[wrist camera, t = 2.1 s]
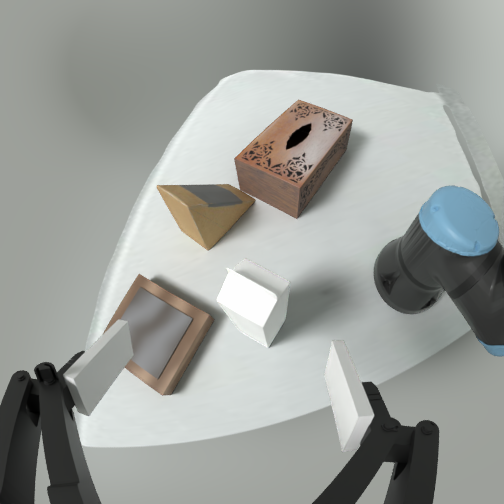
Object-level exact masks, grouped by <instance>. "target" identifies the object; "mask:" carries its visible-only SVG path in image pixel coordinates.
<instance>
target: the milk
mask: <svg viewBox="0 0 504 504" xmlns="http://www.w3.org/2000/svg"><path fill="white" fill-rule="evenodd" d="M227 271H228V275H227V278H226V280H225V282H224V284H223V287H222V289H221V291H220V293H219V296H218V298H217V301H218V303H219V304H220V306H221V307H222V308H223V310H224V311H225V313H226V314H227V315H228V317H229V318H230V320H231V321H232V322H233V324H234V325H235V326H236V328H237V329H238V330H239V331H240V332H241V333H243V334H245V335H246V336H248V337H250V338H251V339H253V340H255V341H257V342H258V343H260V344H262V345H263V346H265V347H267V348H269V346H270V345H271V343H272V341H273V340H274V338H275V336H276V335H277V333H278V331H279V330H280V328H281V326H282V325H283V323H284V321H285V320H286V313H287V306H288V298H289V290H290V281H288V280H286V279H284V278H282V277H280V276H278V275H277V274H275V273H273V272H271V271H269V270H267V269H265V268H263V267H261V266H260V265H258V264H256V263H254V262H252V261H250V260H248V259H246V258H245V259H243V260H242V261H241V262H240V263H239V264H238V265H237V266H236V267H235V268H233V269H232V270H231V269H229V268H227Z"/></svg>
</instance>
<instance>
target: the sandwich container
mask: <svg viewBox="0 0 504 504" xmlns="http://www.w3.org/2000/svg"><path fill="white" fill-rule="evenodd" d="M157 189H158V191H159V193H160V194H161V196H162V198H163V200H164V201H165V203H166V205H167V207H168V208H169V210H170V212H171V214H172V215H173V217H174V219H175V221H176V222H177V224H178V226H179V227H180V229H181V231H183V232H184V233H185V234H186V235H188V236H189V237H190V238H192V239H193V240H194V241H196V242H197V243H198V244H200V245H201V246H202V247H204V248H205V249H207V250H210V249H211V248H212V247H213V246H214V245H215V244H216V243H217V242H218V241H219V240H220V238H221V237H222V236H223V235H224V234H225V233H226V232H227V231H228V230H229V229H230V228H231V227H232V226H233V225H234V224H235V223H236V222H237V220H238V219H239V218H240V217H241V216H242V215H243V214H244V213H245V212H246V210H247V209H248V208H249V207H250V206H251V205H252V204H253V203H254V202H255V201H256V200H255V199H254V198H252V197H250V196H249V195H247V194H246V193H244V192H242V191H241V190H239V189H237V188H235V187H233V186H231V185H229V184H218V185H157Z"/></svg>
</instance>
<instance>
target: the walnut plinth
mask: <svg viewBox="0 0 504 504" xmlns="http://www.w3.org/2000/svg"><path fill="white" fill-rule="evenodd" d="M118 319H119V320H124V321H128V325H129V332H130V338H131V344H132V349H133V356H132V358H131V359H130V360H129V362H128V363H127V364H126V366H125V368H126V369H127V370H129V371H130V372H131V373H132V374H134V375H135V376H136V377H138V378H139V379H140V380H142V381H143V382H144V383H146V384H147V385H148V386H150V387H151V388H153V389H154V390H155V391H157V392H158V393H160V394H161V395H171V394H172V392H173V391H174V389H175V387H176V386H177V384H178V382H179V380H180V379H181V377H182V375H183V373H184V372H185V370H186V368H187V366H188V365H189V363H190V361H191V360H192V358H193V356H194V354H195V353H196V351H197V349H198V347H199V346H200V344H201V342H202V340H203V339H204V337H205V335H206V333H207V332H208V330H209V328H210V326H211V325H212V323H213V321H214V319H213V318H212V317H211V316H210V315H209V314H207V313H206V312H204V311H202V310H200V309H198V308H197V307H195V306H193V305H191V304H189V303H188V302H186V301H184V300H182V299H181V298H179V297H177V296H175V295H174V294H172V293H170V292H169V291H167V290H165V289H163V288H162V287H160V286H158V285H157V284H155V283H153V282H152V281H150V280H148V279H147V278H145V277H144V276H142V275H140V274H139V275H138V276H137V278H136V279H135V281H134V282H133V284H132V286H131V287H130V289H129V290H128V292H127V294H126V295H125V297H124V299H123V300H122V302H121V304H120V305H119V307H118V309H117V310H116V312H115V314H114V315H113V317H112V319H111V320H110V322H109V324H108V326H107V327H106V329H105V331H104V333H105V332H106V331H107V330H108V329H109V328H110V327H111V326H112V325H113V324H114V323H115V322H116V321H117V320H118ZM104 333H103V334H104ZM103 334H102V335H103Z"/></svg>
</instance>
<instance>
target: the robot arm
mask: <svg viewBox="0 0 504 504" xmlns="http://www.w3.org/2000/svg"><path fill="white" fill-rule="evenodd" d="M494 218H495V215H494V213H493V211H492V210H491V208H490V207H489V205H488V204H487V203H486V202H485V201H484V200H483V199H482V198H481V197H480V196H478V195H477V194H475V193H474V192H472V191H470V190H468V189H466V188H463V187H457V186H445V187H442V188H440V189H438V190H436V191H435V192H434V193H433V194H432V196H431V197H430V198H429V200H428V201H427V202H425V203H424V204H423V206H422V207H421V210H420V212H419V214H418V215H417V217H416V218H415V220H414V221H413V223H412V224H411V226H410V227H409V229H408V230H407V231H406V233H405V234H404V236H402V237H400V238H398V239H395V240H393V241H391V242H390V243H388V244H387V245H386V246H385V247H384V248H383V249H382V251H381V252H380V254H379V255H378V257H377V259H376V262H375V266H374V280H375V284H376V287H377V290H378V292H379V294H380V295H381V297H382V298H383V300H384V301H385V302H386V303H387V304H388V305H389V306H390V307H392V308H393V309H395V310H397V311H399V312H401V313H405V314H416V313H420V312H422V311H424V310H426V309H428V308H429V307H431V306H432V305H433V304H434V303H435V302H436V301H437V299H438V298H439V296H440V294H441V292H442V290H443V288H444V290H445V291H446V292H447V294H448V295H449V296H450V298H451V299H452V300H453V302H454V303H455V305H456V306H457V308H458V309H459V310H460V312H461V313H462V315H463V316H464V318H465V319H466V321H467V322H468V324H469V325H470V327H471V329H472V330H473V332H474V333H475V335H476V337H477V339H478V341H479V342H480V343H481V344H483V346H484V347H485V349H486V350H487V351H488V352H489V353H490V354H492V355H494V356H504V248H503V247H502V245H501V244H500V243H499V242H498V236H499V227H498V222H497V221H496V220H495V219H494ZM132 356H133V349H132V344H131V338H130V332H129V325H128V321H124V320H119V319H118V320H117V321H116V322H115V323H114V324H113V325H112V326H111V327H110V328H109V329H108V330H107V331H106V332H105V333H104V334H103V335H102V336H101V337H100V338H99V339H98V340H97V341H96V342H95V343H94V344H93V345H92V346H91V347H90V348H89V349H88V350H87V351H86V352H85V351H81V352H79V353H77V354H75V356H73V357H72V358H71V360H69V361H68V363H66V364H65V365H64V366H63V367H62V368H61V369H60V370H59V371H58V372H56V369H55V367H54V365H53V364H52V363H49V362H44V363H40V364H39V365H37V366H36V367H35V369H34V371H35V374H36V377H37V379H31V377H30V375H29V373H28V372H27V371H24V370H23V371H17V372H16V373H14V374H13V376H12V377H11V380H10V382H9V385H8V387H7V390H6V392H5V395H4V397H3V400H2V403H1V405H0V504H34V494H35V476H36V465H37V456H38V449H39V442H40V435H41V430H42V438H43V445H44V452H45V459H46V464H47V469H48V474H49V479H50V484H51V485H50V486H48V487H47V490H48V496H49V499H50V503H51V504H101V502H100V499H99V497H98V494H97V492H96V489H95V487H94V484H93V481H92V479H91V476H90V472H89V469H88V466H87V463H86V460H85V457H84V453H83V450H82V446H81V442H80V438H79V434H78V430H77V426H76V422H75V417H74V412H73V411H72V408H73V407H74V405H75V406H76V408H77V410H78V412H79V413H82V414H84V415H87V416H89V415H90V414H91V413H92V411H93V410H94V408H95V407H96V406H97V404H98V403H99V401H100V400H101V399H102V397H103V396H104V394H105V393H106V392H107V390H108V389H109V388H110V386H111V385H112V383H113V382H114V381H115V379H116V378H117V377H118V375H119V374H120V373H121V371H122V370H123V369H124V367H125V366H126V364H127V363H128V362H129V360H130V359H131V358H132ZM324 376H325V380H326V384H327V388H328V392H329V396H330V401H331V405H332V409H333V413H334V417H335V422H336V426H337V430H338V435H339V439H340V444H341V448H342V451H343V452H344V451H354V450H357V449H358V447H359V445H361V446H360V447H359V449H358V450H357V451H356V453H355V454H354V455H353V457H352V458H351V459H350V461H349V462H348V463H347V464H346V466H345V467H344V468H343V469H342V471H341V472H340V473H339V474H338V475H337V477H336V478H335V479H334V480H333V481H332V483H331V484H330V485H329V486H328V487H327V488H326V489H325V490H324V491H323V493H322V494H321V495H320V496H319V497H318V498H317V499H316V500H315V501H314V502H313V503H312V504H355V503H356V502H357V500H358V499H359V497H360V496H361V495H362V493H363V492H364V490H365V489H366V488H367V486H368V485H369V483H370V482H371V480H372V479H373V477H374V476H375V474H376V473H377V471H378V470H379V468H380V466H381V465H382V463H383V462H395V464H394V468H393V472H392V476H391V480H390V484H389V487H388V491H387V495H386V498H385V501H384V504H432V503H433V498H434V491H435V483H436V475H437V464H438V463H437V462H438V447H439V428H438V426H437V425H436V424H435V423H434V422H432V421H429V420H423V421H421V422H419V423H418V424H417V425H416V427H409V426H402V425H401V424H400V423H399V421H397V420H396V419H394V418H391V417H390V415H389V412H388V410H387V408H386V406H385V403H384V401H383V400H382V397H381V395H380V392H379V390H378V388H377V387H376V386H375V385H374V384H373V383H372V382H361V380H360V378H359V375H358V373H357V371H356V368H355V366H354V364H353V361H352V359H351V356H350V354H349V352H348V349H347V347H346V345H345V342H344V341H335V340H332V343H331V347H330V352H329V356H328V361H327V365H326V369H325V373H324Z"/></svg>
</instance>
